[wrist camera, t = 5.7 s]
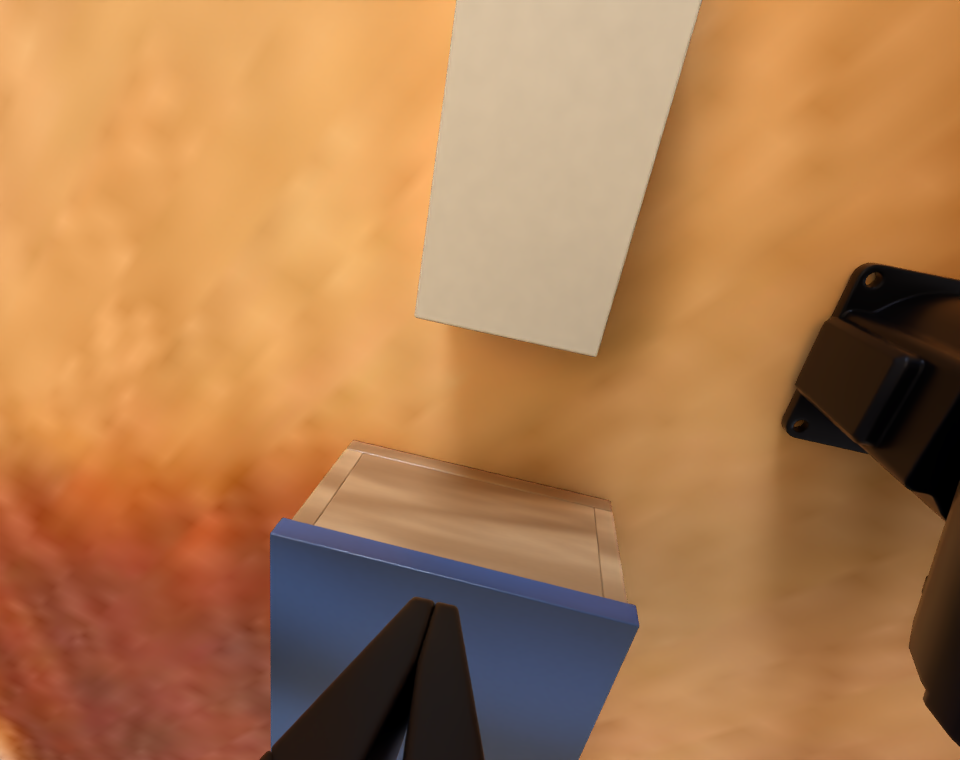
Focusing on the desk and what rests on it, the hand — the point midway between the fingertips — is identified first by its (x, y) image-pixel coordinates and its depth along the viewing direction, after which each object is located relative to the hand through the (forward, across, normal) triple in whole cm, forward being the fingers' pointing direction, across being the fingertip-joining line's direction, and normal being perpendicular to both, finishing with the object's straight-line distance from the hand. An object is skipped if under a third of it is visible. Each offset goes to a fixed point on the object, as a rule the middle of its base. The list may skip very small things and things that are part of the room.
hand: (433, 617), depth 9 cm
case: (+12, 0, -9) cm, 15 cm away
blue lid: (+6, 0, +11) cm, 13 cm away
